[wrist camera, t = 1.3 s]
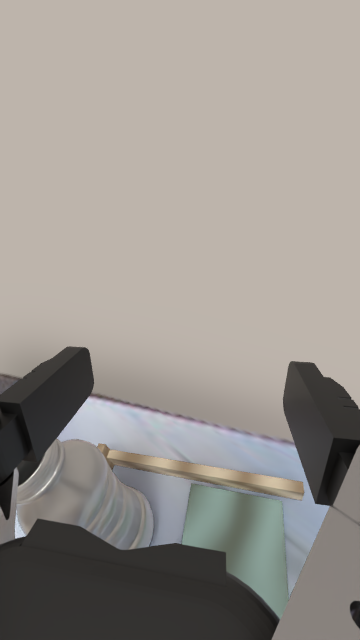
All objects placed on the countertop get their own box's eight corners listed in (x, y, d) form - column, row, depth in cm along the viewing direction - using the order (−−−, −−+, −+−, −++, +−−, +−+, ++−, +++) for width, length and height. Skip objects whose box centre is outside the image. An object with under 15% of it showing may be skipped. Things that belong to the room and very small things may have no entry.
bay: (300, 489, 27) (304, 476, 24) (327, 725, 17) (338, 744, 14) (110, 455, 34) (98, 443, 32) (50, 606, 24) (26, 604, 22)
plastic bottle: (96, 575, 25) (-68, 536, 13) (109, 497, 30) (2, 414, 18) (157, 572, 24) (46, 525, 12) (160, 492, 30) (84, 401, 17)
